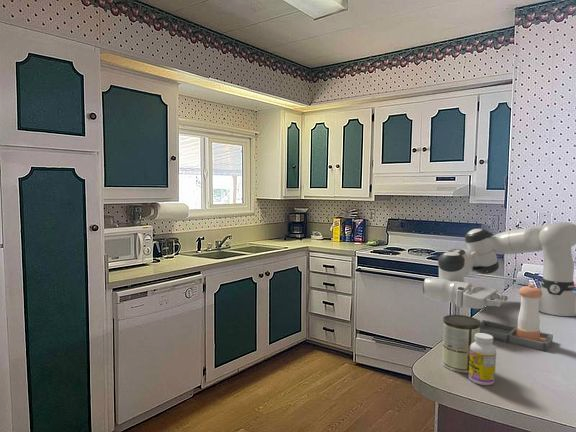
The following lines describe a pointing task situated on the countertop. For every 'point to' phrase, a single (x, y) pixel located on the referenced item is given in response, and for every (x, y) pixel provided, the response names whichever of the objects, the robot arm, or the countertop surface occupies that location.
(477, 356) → the supplement bottle
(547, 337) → the tray
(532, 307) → the salt shaker
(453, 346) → the coffee can
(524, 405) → the countertop surface
